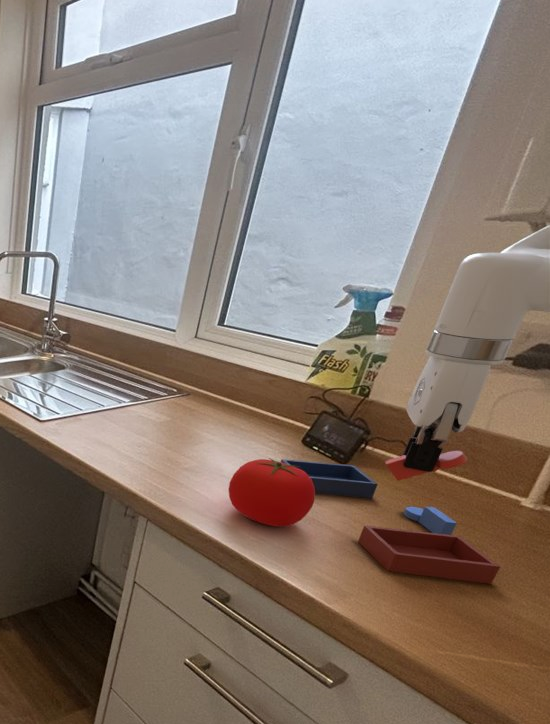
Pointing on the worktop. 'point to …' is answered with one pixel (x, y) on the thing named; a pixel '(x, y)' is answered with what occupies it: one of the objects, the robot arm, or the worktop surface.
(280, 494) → the tomato
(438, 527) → the blue stepped block
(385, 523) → the worktop surface
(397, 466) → the red stepped block
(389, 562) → the red tub
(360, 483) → the blue tub
